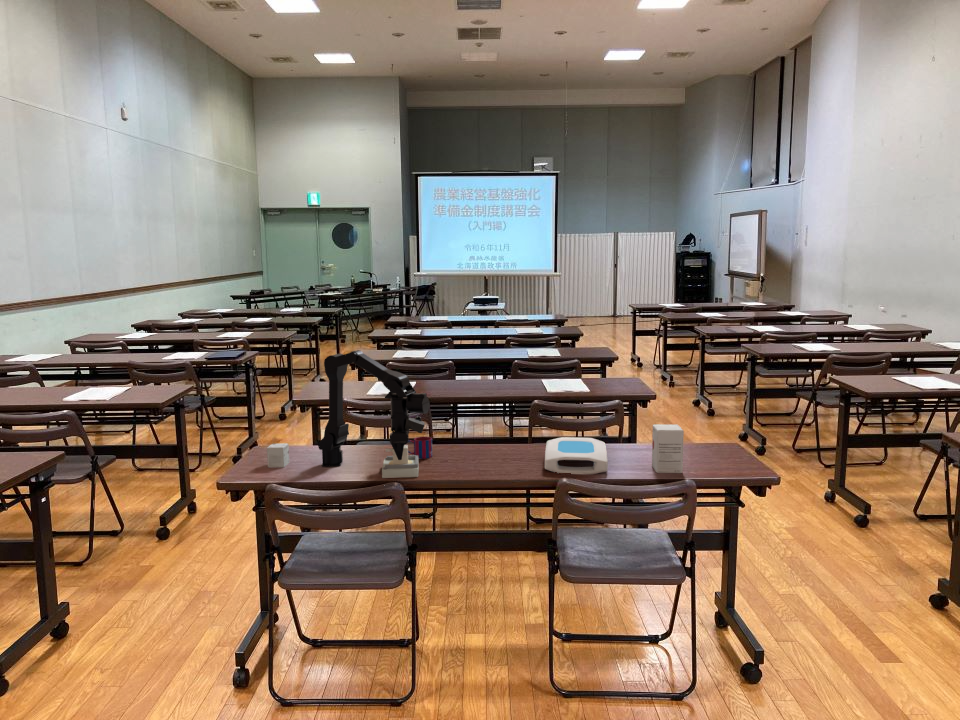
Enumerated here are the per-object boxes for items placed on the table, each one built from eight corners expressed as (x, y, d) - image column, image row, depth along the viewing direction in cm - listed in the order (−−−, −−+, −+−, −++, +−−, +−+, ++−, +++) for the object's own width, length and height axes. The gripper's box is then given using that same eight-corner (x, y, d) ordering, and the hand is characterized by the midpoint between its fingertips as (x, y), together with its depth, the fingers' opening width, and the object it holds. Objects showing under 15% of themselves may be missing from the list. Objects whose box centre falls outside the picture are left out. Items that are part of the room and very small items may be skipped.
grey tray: (382, 478, 235) (381, 466, 234) (384, 466, 248) (384, 455, 248) (418, 476, 235) (418, 465, 235) (418, 465, 249) (418, 454, 249)
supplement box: (651, 465, 246) (652, 423, 244) (677, 466, 245) (678, 424, 243) (656, 473, 237) (657, 429, 235) (683, 473, 236) (684, 429, 234)
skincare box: (284, 467, 248) (283, 447, 247) (267, 467, 249) (266, 447, 248) (289, 463, 254) (288, 443, 253) (273, 463, 255) (272, 443, 254)
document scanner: (544, 474, 238) (544, 456, 237) (547, 452, 266) (547, 436, 265) (607, 475, 236) (607, 457, 235) (604, 453, 263) (604, 437, 262)
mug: (431, 458, 258) (431, 440, 257) (404, 459, 258) (403, 440, 257) (433, 454, 264) (432, 436, 263) (406, 454, 265) (406, 436, 264)
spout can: (385, 464, 239) (385, 446, 238) (386, 460, 244) (385, 442, 243) (407, 464, 239) (407, 445, 238) (408, 460, 244) (407, 442, 243)
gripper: (423, 416, 231) (423, 462, 233) (423, 405, 249) (424, 448, 251) (388, 417, 230) (390, 464, 232) (391, 406, 248) (392, 449, 250)
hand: (400, 456), depth 241 cm, fingers open, 9 cm apart
